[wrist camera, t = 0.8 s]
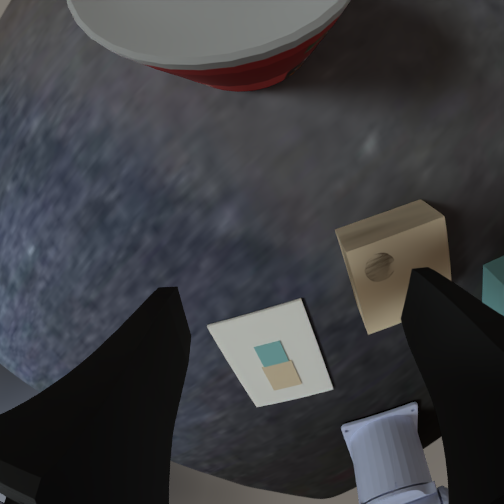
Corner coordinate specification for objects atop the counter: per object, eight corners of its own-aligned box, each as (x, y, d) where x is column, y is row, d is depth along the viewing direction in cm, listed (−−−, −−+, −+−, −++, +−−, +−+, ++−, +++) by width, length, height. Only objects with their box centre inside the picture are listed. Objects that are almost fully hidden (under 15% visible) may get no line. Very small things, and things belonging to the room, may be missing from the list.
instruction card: (333, 387, 25) (333, 390, 25) (256, 405, 26) (256, 407, 26) (300, 297, 21) (301, 300, 21) (207, 324, 23) (206, 327, 22)
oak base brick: (431, 274, 20) (452, 301, 17) (356, 303, 22) (368, 334, 18) (419, 198, 18) (444, 216, 15) (334, 228, 19) (346, 252, 16)
